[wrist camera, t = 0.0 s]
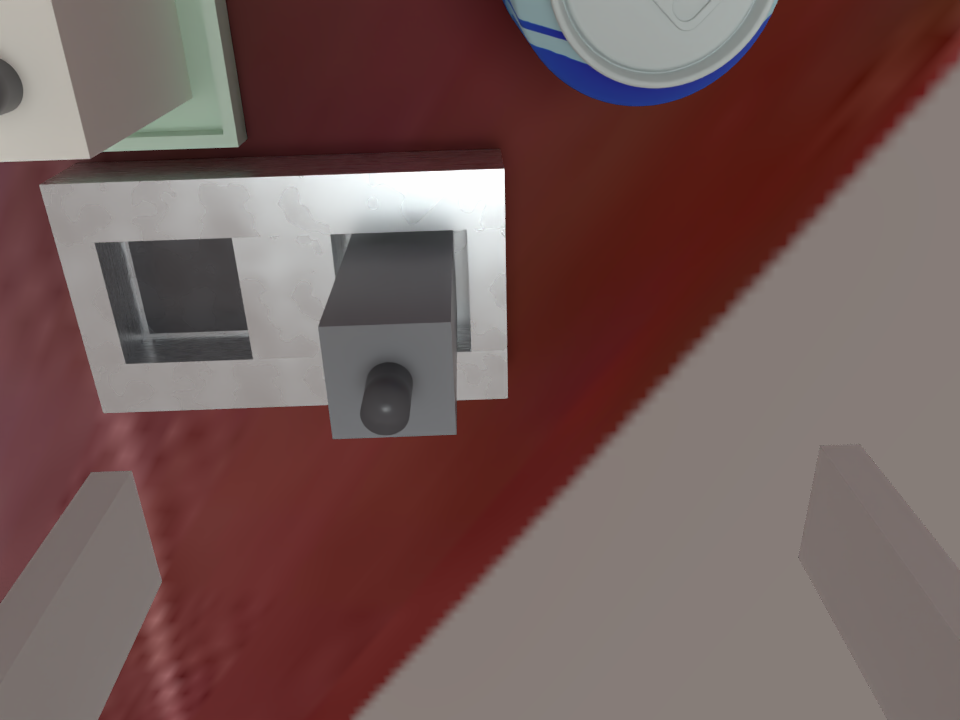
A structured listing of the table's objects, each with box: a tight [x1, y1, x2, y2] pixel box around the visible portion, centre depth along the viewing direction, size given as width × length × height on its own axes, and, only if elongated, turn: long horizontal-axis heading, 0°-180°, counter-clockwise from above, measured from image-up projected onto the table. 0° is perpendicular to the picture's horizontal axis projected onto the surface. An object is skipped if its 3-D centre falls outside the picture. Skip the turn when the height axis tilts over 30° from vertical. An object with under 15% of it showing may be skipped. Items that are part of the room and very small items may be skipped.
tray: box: [103, 0, 247, 152], centre depth 37 cm, size 9×9×2 cm
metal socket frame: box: [39, 149, 508, 413], centre depth 41 cm, size 12×21×4 cm, turn 92°
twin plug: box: [318, 230, 457, 439], centre depth 36 cm, size 5×5×14 cm
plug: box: [0, 0, 193, 162], centre depth 31 cm, size 5×5×14 cm
